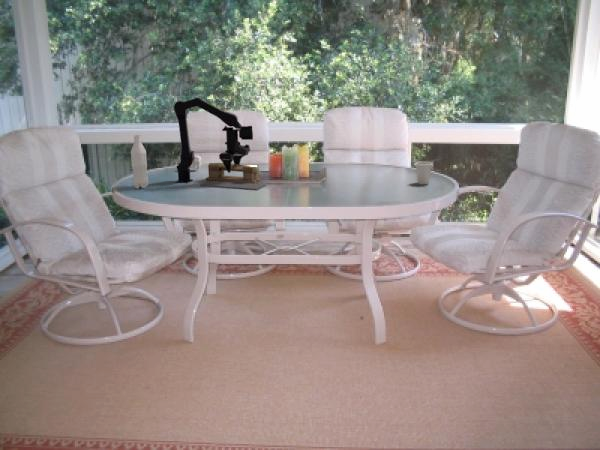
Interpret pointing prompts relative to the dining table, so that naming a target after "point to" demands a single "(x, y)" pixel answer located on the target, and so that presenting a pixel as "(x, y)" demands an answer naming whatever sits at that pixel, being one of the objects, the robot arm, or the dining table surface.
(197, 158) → the penguin figurine
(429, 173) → the dixie cup
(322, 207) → the dining table surface
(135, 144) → the water bottle
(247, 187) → the rubber mat
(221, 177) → the rail stand
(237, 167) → the bronze rail
